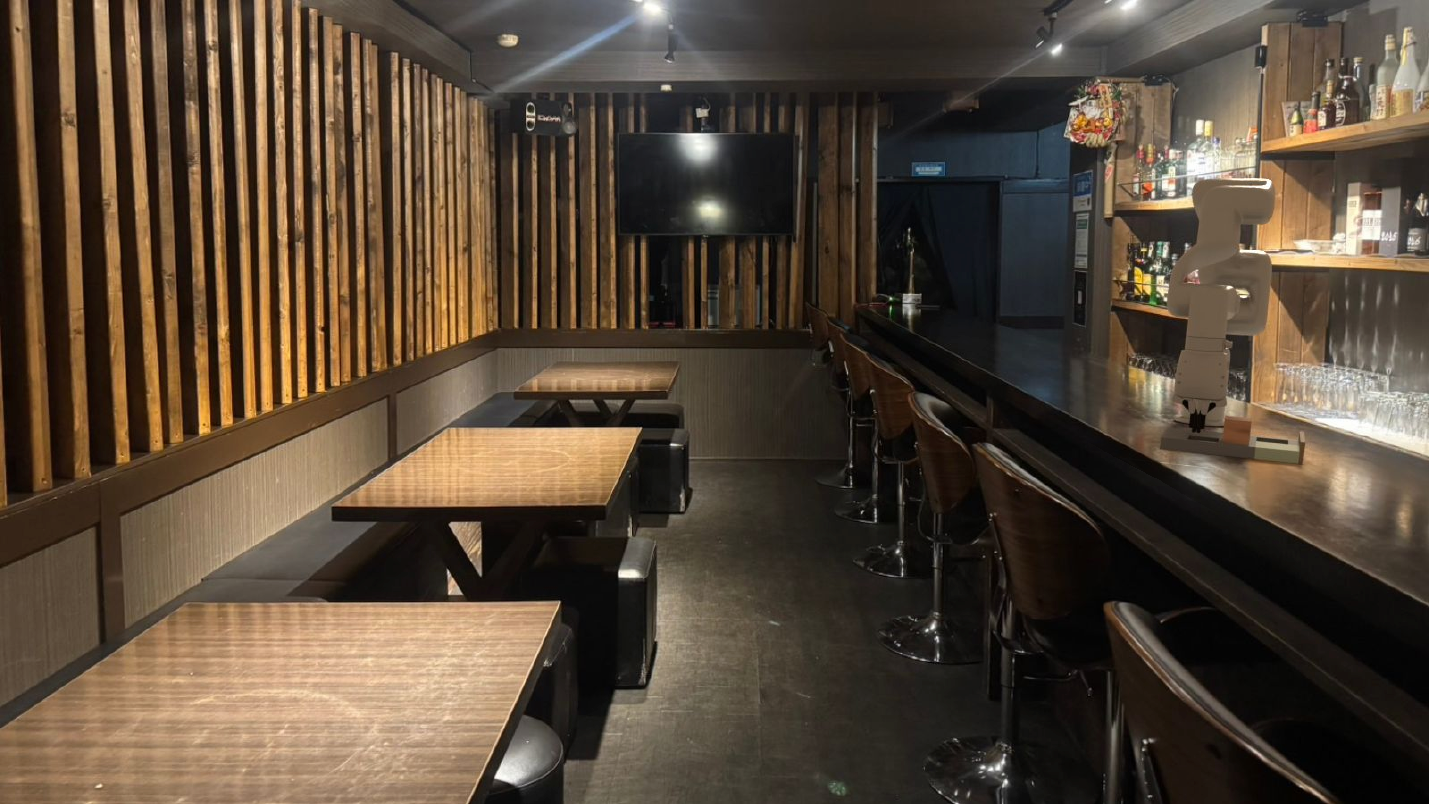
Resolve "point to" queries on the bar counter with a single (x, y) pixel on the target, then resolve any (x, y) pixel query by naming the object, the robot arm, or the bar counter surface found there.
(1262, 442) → the deck
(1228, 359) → the robot arm
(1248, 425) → the block
